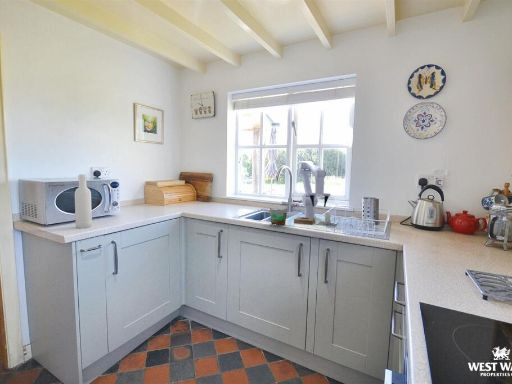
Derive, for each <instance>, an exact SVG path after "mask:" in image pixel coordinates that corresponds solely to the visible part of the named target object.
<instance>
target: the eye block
mask: <svg viewBox="0 0 512 384" xmlns="http://www.w3.org/2000/svg"><path fill="white" fill-rule="evenodd" d="M315 222H316V217H315V218H310V217H304V216H296V217H295V218H294V219H293V224H302V225H314V223H315Z"/></svg>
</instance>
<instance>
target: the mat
mask: <svg viewBox="0 0 512 384" xmlns="http://www.w3.org/2000/svg"><path fill="white" fill-rule="evenodd" d="M316 225H318V226H324V227H325V226H327V227H337V226H338V223H337V224H334V223H330V224H325V220H324V221H323V220H319V222H318V223H317V224H316Z"/></svg>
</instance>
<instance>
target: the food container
mask: <svg viewBox="0 0 512 384" xmlns="http://www.w3.org/2000/svg"><path fill="white" fill-rule="evenodd" d="M269 213H270V222H271V223H272V224H271V225H273V224H276V225H275V226H284V225H286V223H287V221H286V220H287V214H288V213H289V211H288V209H279V208H278V209H277V208H276V209H273V208H272V207H270V209H269Z"/></svg>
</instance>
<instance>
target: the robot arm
mask: <svg viewBox="0 0 512 384" xmlns="http://www.w3.org/2000/svg"><path fill="white" fill-rule="evenodd" d="M298 171H299V174H301V179H302V184H303V188H304V195H303V196H302V204H303V206H304V216H303V217H310V218H315V219H316V217H317V216H316V214H315V213H316V206H317V205H318V197H323V199H324V200H323V202H324V203H323V207H324V208H325V207H326V205H327V202H328V200H329V198H331V193H326V192H325V187H324V186H325V178H326V176H327V171H326V170H325V168H323V169H322V168H321V167H319V166H318V165H317V164H314V162H313V161H305V160H303V161H302V160H300V161H299V163H298ZM311 173H312V174H313V176H314V180H315V183H314V184H315V185H314V186H315V188H314V189H315V190H314V192H313V191H312V186H311V180H310V176H309V174H311ZM324 192H325V193H324Z"/></svg>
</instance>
